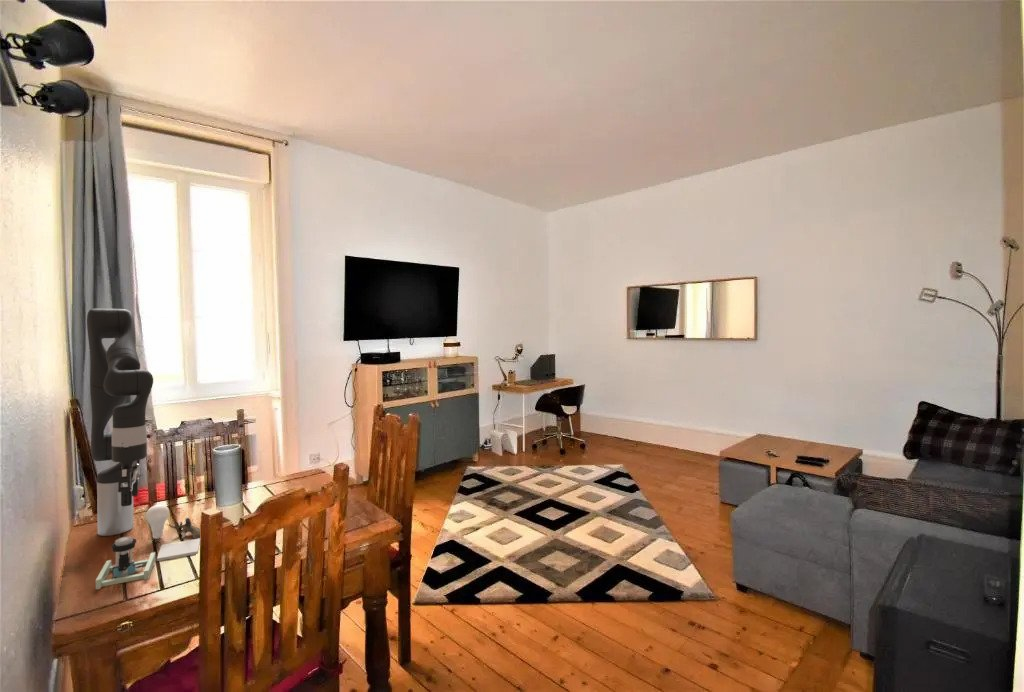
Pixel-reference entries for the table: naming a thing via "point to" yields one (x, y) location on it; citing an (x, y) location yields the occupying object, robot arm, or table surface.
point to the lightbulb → (157, 519)
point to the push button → (124, 557)
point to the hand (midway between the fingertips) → (129, 500)
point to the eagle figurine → (187, 528)
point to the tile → (178, 549)
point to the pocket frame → (108, 568)
